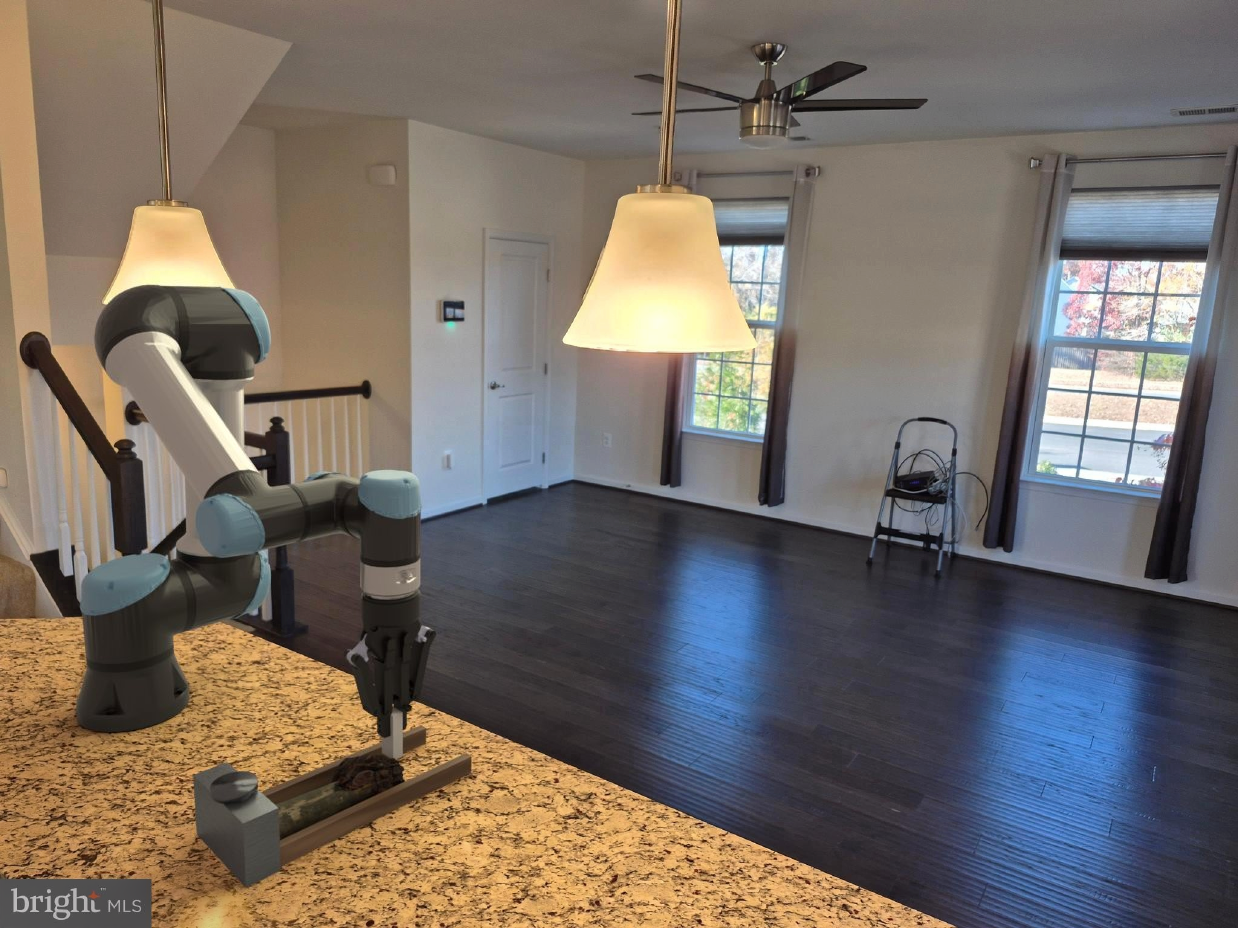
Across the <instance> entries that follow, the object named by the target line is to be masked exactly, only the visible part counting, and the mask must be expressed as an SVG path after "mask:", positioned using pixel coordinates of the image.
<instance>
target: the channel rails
mask: <svg viewBox="0 0 1238 928" xmlns="http://www.w3.org/2000/svg"><path fill="white" fill-rule="evenodd" d="M426 744H427V727H425V726H423V725H422V724H421V725H418V726H416V727H414V728H413V727H412V728H411V729H408V730H406V731H404V732H403V754H405V753H407V751H408V752H409V751H412V750H415V749H418V748H419V747H421V746H424V745H426ZM365 755H373V756H376V755H384V756H386V755H385V754H383V753H382V741H380V742H378V743H375V744H373V745H370V746H367V747H365V748H363V749H360V750H358V751H355V752H354V753H351V754H348V755H347V756H344V757H342V758H339V759H336V760H334V761H332V762H329V763H327V764H324V765H322V766H320V767H317V768H315V769H312V770H310V771H308V772H306V773H303V774H301V775H299V776H298V775H297V776H296V777H294V778H292V779H288V780H287V781H283V782H282V783H279V784H276V785H274V786H271V787H270V788H267V789H265V790H263V791H260V792H261V793H262V794H263V795H265V796H266V797H267V798H268V799H269V800H270V801H271V802H272V803H274V804H275V805H276V804H279V803H282V802H284V801H287V800H290V799H292V798H295V797H297V796H300V795H302V794H305V793H308V792H310V791H313V790H316V789H318V788H321V787H323V786H326V785H328V784H330V783H331V781H332V778H333V776H334V774H335V771H336V769H337V767H338V765H339V764H340V763H341V762H342V761H343V760H344V759H345V758H352V757H357V756H359V757H361V756H363V757H364V756H365ZM386 757H388V756H386ZM388 758H389V757H388ZM472 758H473V757H472V755H471V754H468V753H467V752H465V753H463V754H461V755H459V756H456V757H454V758H453V759H450V760H448V761H446V762H444V763H442V764H440V765H437V766H436V767H433V768H430V769H429V770H427V771H424V772H423V773H421V774H418V775H416V776H415V777H412V778H410V779H408V780H405V782H403V783H401V784H399V785H397V786H395V787H393V788H390V789H388V790H386V791H384V792H382V793H380V794H378V795H376V796H373V797H371V798H369V799H367V800H365V801H363V802H361V803H359V804H356V805H354V806H352V807H350V808H348V809H346V810H344V811H342V812H339V813H337V814H335V815H333V816H331V817H329V818H327V819H325V820H322V821H320V822H318V823H316V824H314V825H312V826H310V827H307V828H305V829H303V830H301V831H299V832H297V833H295V834H293V835H290V836H288V837H286V838H284V839H282V840H280V863H281V867H283V866H285V865H288V864H289V863H291V862H293V861H295V860H297V859H300V858H301V857H304V856H306V855H307V854H310V853H311V852H314V851H316V850H318V849H320V848H322V847H324V846H326V845H328V844H330V843H332V842H333V841H336V840H338V839H340V838H342V837H344V836H346V835H348V834H350V833H352V832H354V831H355V830H358V829H360V828H362V827H364V826H367V825H368V824H370V823H372V822H374V821H376V820H378V819H380V818H383V817H385V816H386V814H387V815H388V814H390V813H393V812H395V811H397V810H399V809H400V807H401V808H402V806H403V807H405V806H407V805H409V804H410V803H413V802H415V801H417V800H419V799H421V798H423V797H424V796H426V795H427V796H428V795H429V794H431V793H433V792H435V791H437V790H439V789H441V788H443V787H446V786H447V785H449V784H451V783H453V782H455V781H457V780H459V779H461V778H463V777H465V776H467V775H469V774H472ZM422 796H423V797H422ZM412 801H413V802H412ZM406 804H407V805H406ZM396 809H397V810H396Z"/></svg>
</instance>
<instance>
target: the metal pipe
mask: <svg viewBox="0 0 1238 928" xmlns="http://www.w3.org/2000/svg"><path fill="white" fill-rule="evenodd" d="M404 771H405V767H404V766H403V765H401V764H400V761H399V760H397V759H395V758H388V757H386V756H384V755H376V756H373V755H365V756H364V757H363V756H361V757H359V756H357V757H352V758H345V759H344V760H343V761H342V762H341V763H340V764H339V765H338V767H337V769H336V771H335V774H334V776H333V778H332V781H331V783H330V784H328V785H326V786H323V787H321V788H318V789H316V790H313V791H310V792H308V793H305V794H302V795H300V796H297V797H295V798H292V799H290V800H287V801H284V802H282V803H279V804H276V806H277V807H278V809H279V836H280V840H282V839H284V838H286V837H288V836H290V835H293V834H295V833H297V832H299V831H301V830H303V829H305V828H307V827H310V826H312V825H314V824H316V823H318V822H320V821H322V820H325V819H327V818H329V817H331V816H333V815H335V814H337V813H339V812H342V811H344V810H346V809H348V808H350V807H352V806H354V805H356V804H359V803H361V802H363V801H365V800H367V799H369V798H371V797H373V796H376V795H378V794H380V793H382V792H384V791H386V790H388V789H390V788H393V787H395V786H397V785H399V784H401V783H403V782H405V781H406V780H405V779H404V775H405V774H404Z"/></svg>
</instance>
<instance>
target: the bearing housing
mask: <svg viewBox="0 0 1238 928" xmlns="http://www.w3.org/2000/svg"><path fill="white" fill-rule="evenodd" d="M192 776H193V777H192V778H193V779H192V780H193V794H194V797H193V798H194V811H195V828H196V829H195V830H196V836H197V837H198V838H199V839H200V840H201V841H202V842H203V843H204V844H205V846H206V847H207V848H208V849H209V850H210V851H211V852H212V853H213V854H214V855H215V856H216V857H217V858H218V859H219V861H220V862H221V863H222V864H223V865H224V866H225V867H226V868H227V869H228V870H229V871H230V872H231V874H232V875H233V876H234V877H235V878H236V879H237V880H238V881H239V882H240V883H241V884H242V885H243V886H244V888H245V889H247V888H249V887H251V886H253V885H255V884H257V883H258V882H261V881H263V880H265V879H266V878H268V877H271V876H273V875H275V874H277V873H279V872H281V870H282V866H281V863H280V836H279V809H278V807H277V806H276V805H275V804H274V803H272V802H271V801H270V800H269V799H268V798H267V797H266V796H265V795H263V794H262V793H261V792H262V791H260V790H259V778H258V775H257V774H255V773H253V772H250V771H247V770H236V769H235V768H234V767H233V766H232V765H231V764H230V763H229V762H228V761H226V762H224V763H221V764H218V765H215V766H213V767H211V768H208V769H206V770H202V771H200V772H197V773H195V774H193V775H192Z"/></svg>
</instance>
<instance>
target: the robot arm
mask: <svg viewBox="0 0 1238 928" xmlns="http://www.w3.org/2000/svg"><path fill="white" fill-rule="evenodd" d="M94 328H95V329H94V336H93V338H94V339H93V340H94V349H95V352H96V356H97V358H98V361H99V363H100V365H101V366H102V369H103V370H104V371H105V373H106V375H107V376H108V377H109V379H110V380H111V381H112V382H113V383H114V384H116V385H118V386H120V387H123V388H126V390H127V391H128V393H129V394H130V395H131V398H132V399H133V400H134V402H135V403H136V405H137V406H138V408H139V410H140V411H141V412H142V414H143V415H144V417H145V418H146V420H147V421H148V423H149V425H151V428H152V429H153V430H154V432H155V433H156V435H157V436H158V438H159V440H160V441H161V443H162V444H163V445H164V447H165V449H166V450H167V451H168V453H169V454H170V457H171V458H172V459H173V461H174V462H175V463H176V465H177V467H178V468H179V470H180V471H181V473H182V474H183V476H184V491H185V495H184V498H185V499H184V500H185V528H186V529H185V531H186V532H185V534H183V536H181V537H180V538H179V539H178V540H177V541H176V544H175V558H172V559H170V560H169V559H168V558H167V557H166V556H165V555H163V554H161V553H155V552H150V553H149V552H148V553H147V552H146V553H141V554H130V555H125V556H121V557H117V558H114V559H111V560H109V561H105V562H103V563H101V564H98V565H97V566H95V567H94V568H92V569H91V570H90V571H89V572H88V573H87V574H86V575H85V576H84V577H83V578H82V580H81V583H80V598H81V599H80V603H79V608H80V611H81V616H82V617H81V618H82V627H83V628H82V629H83V638H84V639H83V640H84V651H85V659H86V660H85V661H86V664H85V665H86V670H85V673H84V676H83V681H82V683H81V686H80V690H79V694H78V697H77V701H76V704H75V705H76V706H75V709H76V719H77V720H76V721H77V723H78V724H79V725H80V726H81V727H83V728H85V729H88V730H91V731H94V732H100V733H101V732H102V733H103V732H104V733H118V732H119V733H120V732H121V733H122V732H129V731H135V730H139V729H143V728H144V729H145V728H148V727H151V726H155V725H157V724H160V723H162V722H164V721H167V720H170V719H172V718H173V717H175V716H176V715H178V714H180V713H181V712H182V711H183V710H184V709H186V707H187V706H188V704H189V702H190V698H191V697H190V686H189V683H188V680H187V677H186V675H185V674H184V672H183V669H182V668H181V665H180V664H179V662H178V660H177V657H176V655H175V645H174V644H175V643H174V636H175V635H178V634H182V633H185V632H189V631H192V630H197V629H200V628H203V627H206V626H211V625H214V624H217V623H221V622H224V621H229V620H235V619H238V618H239V617H241V616H243V615H245V614H249V613H252V612H254V611H256V610H257V609H258V608H260V607H261V606H262V605H263V604H264V602H265V600H266V599H267V596H268V594H269V592H270V587H271V582H272V581H271V579H272V577H271V576H272V574H271V573H272V572H271V566H270V563H268V555H267V553H266V552H265V550H269V549H274V548H278V547H282V546H285V545H290V544H295V543H300V542H301V543H302V542H305V541H309V540H314V539H318V538H323V537H328V536H332V535H335V534H336V535H337V534H338V535H339V534H343V535H345V536H348V537H352V538H354V539H358V540H359V549H360V552H359V557H360V574H359V575H360V576H359V577H360V578H359V579H360V582H359V583H360V584H359V586H360V589H361V590H362V593H361V594H360V614H361V615H360V617H361V621H362V631H361V633H360V635H359V642H358V643H357V644H356V646H355V647H354V648H353V649H351V648H347V649H345V650H344V652H343V657H344V659H345V660H346V661H347V663H348V664H349V665H350V668H351V670H352V674H353V678H354V682H355V685H356V689H357V693H358V697H359V699H360V704H361V706H362V707H361V708H362V711H364V712H366V713H368V714H369V715H370V716H372V717H374V718H376V732H377V734H378V736H380V737H381V742H382V753H383V754H385V755H386V756H388V757H389V758H395V759H396V760H397V759H400V758H402V757H404V753H403V731H405V730H406V729H407V727H408V713H410V712H411V711H412V709H413V705H411V703H413V702H417V701H419V700H420V699H421V694H422V693H421V692H422V689H423V683H424V679H425V673H426V669H427V662H428V660H429V659H428V658H429V655H430V650H431V649H430V648H431V646H432V644H433V642H434V640H435V638H436V636H437V631H435V630H434V629H432V628H431V627H428V626H426V625H422V621H421V620H420V616H421V614H422V613H421V612H422V611H421V609H422V605H421V601H422V600H421V599H422V594H421V593H422V592H421V591H420V589H419V588H420V586H421V541H422V540H421V537H422V536H421V533H422V532H421V531H422V529H421V527H422V525H421V523H422V521H421V520H422V517H421V516H422V508H423V504H422V500H421V488H420V487H421V486H420V480H419V478H418V477H417V476H416V475H415V474H414V473H413V472H409V471H407V470H395V469H379V470H372V471H368V472H366V473H364V474H362V475H361V477H360V478H357V477H354V476H349V475H348V474H346V473H341V472H338V471H332V472H330V471H318V472H313V473H312V474H310V475H309V476H308V477H306V478H305V479H304V480H303V481H302V482H296V483H289V484H283V485H275V486H270V485H269V484H268V483H267V481H266V480H265V479H264V477H263V476H262V474H261V473H260V472H259V470H258V469H257V468H256V466H255V465H254V463H253V462H252V460H251V459H250V458H249V456H248V455H247V454H246V451H245V387H246V386H247V385H248V384H249V383H250V382H252V380H254V378H255V365H258V364H260V363H262V362H263V361H265V360H266V359H267V357H268V353H269V352H270V350H271V346H272V343H271V342H272V338H271V337H272V336H271V330H270V329H271V328H270V325H269V320H268V317H267V315H266V313H265V311H264V309H263V308H262V307H261V305H260V303H259V301H258V300H257V299H256V298H255V297H254V296H253V295H251V294H250V293H249V292H247V291H246V290H242V289H238V288H237V289H236V288H232V287H231V288H229V287H222V286H198V285H197V286H193V285H190V286H189V285H186V286H185V285H159V284H142V285H138V286H137V285H136V286H134V287H133V286H132V287H129V288H128V289H126V290H123V291H121V292H119V293H117V294H116V295H115V296H114V297H112V299H111V300H109V301H108V303H106V305H105V306H104V307H103V309H102V310H101V312H100V314H99V315H98V318H97V321H96V323H95V327H94ZM367 652H369V654H370V655H371V661H372V663H373V673H374V674H373V675H372V672H371V668H370V666H369V664H368V661H369V657H368V653H367Z"/></svg>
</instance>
